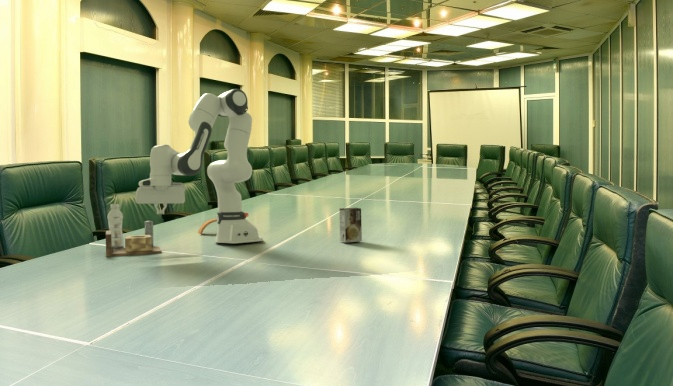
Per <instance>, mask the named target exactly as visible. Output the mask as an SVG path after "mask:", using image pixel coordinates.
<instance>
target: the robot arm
mask: <svg viewBox="0 0 673 386" xmlns="http://www.w3.org/2000/svg"><path fill="white" fill-rule="evenodd" d="M248 101H249V100H248V97H247V94H246V92H245V91H243V90H241V88H232V89H230V90H226V91H224V92H223V93H221V94H219V95H215V94H214V93H208V92H207V93H203V94H202V96H200V98H199V100H197V102H196V104H195V105H194V107H193V109H192V110H191V113H190V115H189V117H188V121H187V122H188V125H189V127H190V129H191V130H192V131H193V132H194V136H193V140H192V142H191V145H190V147H189V149H188V150H187V151H186V152H182V153H181V152H179V151H177V150H175V149H174V148H172V147H171V146H170V145H169V144H160V145H154V146H153V147H151V150H150V153H149V154H150V155H149V156H150V157H149V166H150V167H149V168H150V173H149V178H146V179H142V180H140V181H139V182H138V186H139V187H137V189H136V193H135V203H136V204H143V205H144V204H145V205H146V204H147V205H149V204H150V205H154V206H153V207H154V208H155V210H156V215H165V211H166V209H167V207H168V204H184V203H185V202H186V195H185V192H186V190H187V189H186V188H187V187H186V184H184V183H183V182H177V181H176V182H175V181H173V182H172V175H175V176H189V177H193V176H196V175H197V174H199V172H201V170H202V167H203V160H204V155H205V152H206V149H207V146H208V143H209V141H210V138H211V135H212V131H213V126H214V124H215V122H216V120H217V118H218V117H222V118H227V117H228V121H229V123H228V126H227V127H228V128H227V131H226V134H225V138H224V139H225V140H224V143H223V146H224V149H225V150H226V151H227V152H226V153H227V156H226V157H227V158H226V159H219V160H216V161H213V162H210V164H209V165H208V166H207V169H206V173H207V176H208V178H209V179H210V181H212V183H213V185H214V187H215V191H216V196H217V212H216V219H217V221H216V222H217V228H216V236H215V240H214V242H215V243H217V244H218V243H221V244H243V243H255V242H263V241H264V237H262V236H260V234H259V231H258V228H257V226H256V225H254V224H252V222H250V221H249V220H248V219H246V218H248V217H250V216H249V212H245V211H243V208H242V206H243V203H242V201H243V200H242V197H243V196H242V194H241V193H240V192H239V191H238V190H237V188H236V185H235V183H236V184H237V183H238V184H239V183H243V182H246V181H248V180H250V178H252V174H253V168H252V165H251V163H250V162H249V161H248V147H249V142H250V138H251V133H252V126H253V125H252V124H253V118H252V115H251V114H250V113H248V109H249V105H248V104H249V103H248ZM160 204H162V205H163V207H162V209H159V208H158V207H159V205H160Z"/></svg>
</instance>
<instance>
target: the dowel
mask: <svg viewBox="0 0 673 386" xmlns="http://www.w3.org/2000/svg"><path fill="white" fill-rule="evenodd" d="M144 235H150V236H151V244H152V247H153V246H154V221H153V220H146V221H145V220H144Z"/></svg>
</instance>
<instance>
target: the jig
mask: <svg viewBox="0 0 673 386" xmlns="http://www.w3.org/2000/svg"><path fill="white" fill-rule="evenodd" d="M153 254H154V255H155V254H162V249H161V248H160V246H159V245H157V246H156V245H155V246H153V247H152V250H147V251H132V252H126V250H125V247H124V248H123V247H120V248H112V239H111V231H109V230H106V231H105V257H106V258H109V257H127V256H138V255H139V256H140V255H153Z"/></svg>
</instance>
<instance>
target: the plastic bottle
mask: <svg viewBox="0 0 673 386" xmlns="http://www.w3.org/2000/svg"><path fill="white" fill-rule="evenodd" d="M106 217H107V218H106V219H107V223H108V231H111V239H112V249H121V248H123V247H124V245H125V238H124V236H123V218H124V214H123V212H122V211H121V210H120V203H110V210H109V211H108V213H107V216H106Z"/></svg>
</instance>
